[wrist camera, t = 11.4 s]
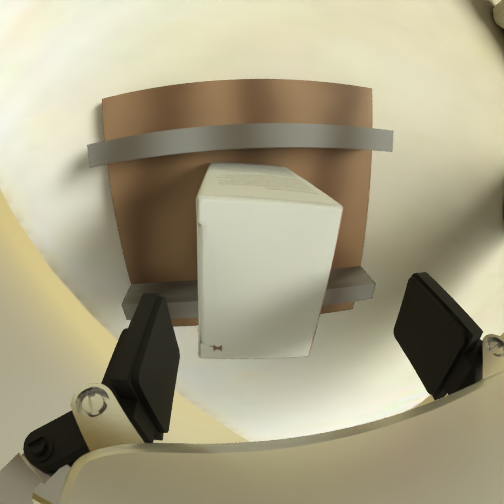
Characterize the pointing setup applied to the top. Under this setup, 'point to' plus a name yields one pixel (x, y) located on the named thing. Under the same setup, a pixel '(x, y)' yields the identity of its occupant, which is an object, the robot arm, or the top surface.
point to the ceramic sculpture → (499, 14)
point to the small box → (261, 260)
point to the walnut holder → (232, 151)
